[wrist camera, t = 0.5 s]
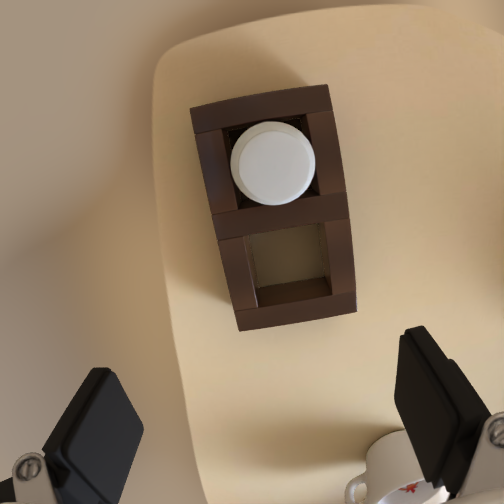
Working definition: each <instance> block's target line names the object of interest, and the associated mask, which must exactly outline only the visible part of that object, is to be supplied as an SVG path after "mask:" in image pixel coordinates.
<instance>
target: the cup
mask: <svg viewBox="0 0 504 504" xmlns="http://www.w3.org/2000/svg"><path fill="white" fill-rule="evenodd" d="M366 468H367V469H366V471H365V472H364V473H363V474H361V475H359V476H357V477H355V478H353V479H352V480H351V481H350V482H349V483H348V484H347V486H346V489H345V501H346V504H423V503H424V502H426V501H428V500H429V499H431V498H432V497H433V496H434V495H436V494H437V493H438V492H439V491H440V490H441V488H442V487H443V486H442V487H439V488H437V489H434V488H433V485H432V483H431V482H430V483H427V482H426V481H425V479H424V476H423V473H422V471H421V468H420V465H419V463H418V460H417V457H416V455H415V452H414V450H413V447H412V444H411V442H410V439H409V437H408V434H407V432H406V430H403V431H396V432H393V433H390V434H387V435H385V436H383V437H382V438H380V439H379V440H377V441H376V442H375V443H374V444H373V445H372V446H371V447H370V448H369V450H368V452H367V455H366ZM362 483H365V484H366V486H367V495H366V498H365V499H364V501H362V502H361V503H355V501H354V490H355V488H356V487H357V486H358V485H359V484H362Z"/></svg>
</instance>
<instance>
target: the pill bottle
mask: <svg viewBox="0 0 504 504" xmlns="http://www.w3.org/2000/svg"><path fill="white" fill-rule="evenodd" d="M314 171H315V156H314V152H313V149H312V147H311V145H310V143H309V141H308V140H307V138H306V137H305V136H304V135H303V134H302V133H301V132H300V131H299V130H298V129H296V128H295V127H293V126H291V125H288V124H286V123H281V122H262V123H260V124H257V125H255V126H253V127H251V128H249V129H248V130H247V131H245V132H244V133H243V134H242V135H241V136H240V138H239V139H238V140H237V142H236V144H235V146H234V148H233V151H232V154H231V172H232V176H233V179H234V181H235V183H236V185H237V186H238V188H239V189H240V190H241V191H242V192H243V193H244V194H245V195H246V196H247V197H249V198H250V199H252V200H254V201H256V202H258V203H261V204H265V205H281V204H285V203H288V202H291V201H293V200H294V199H296V198H298V197H299V196H300V195H301V194H303V193H304V191H305V190H306V189H307V188H308V186H309V185H310V183H311V181H312V178H313V176H314Z"/></svg>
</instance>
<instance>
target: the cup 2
mask: <svg viewBox="0 0 504 504" xmlns="http://www.w3.org/2000/svg"><path fill="white" fill-rule="evenodd" d="M448 495H449V492H447V491H446V488H445V486H443V487H442V488H441V490H440V491H439V492H438V493H437V494H436V495H434V496H433V497H432V498H431V499H429V500H428V501H426V502H424V503H423V504H440V503H443V502H445V501H446V499H447V497H448Z"/></svg>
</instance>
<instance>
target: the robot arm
mask: <svg viewBox="0 0 504 504" xmlns="http://www.w3.org/2000/svg"><path fill="white" fill-rule="evenodd" d="M394 400H395V405H396V407H397V410H398V412H399V415H400V417H401V419H402V422H403V424H404V427H405V429H406V432H407V434H408V437H409V439H410V442H411V444H412V447H413V450H414V452H415V455H416V457H417V460H418V463H419V465H420V468H421V471H422V473H423V476H424V479H425V481H426V482H427V483H430V482H431V483H432V485H433V488H434V489H437V488H439V487H442V486H445V488H446V491H447V492H449V495H448V497H447V499H446V501H445V502H443V503H440V504H504V412H499V413H496V414H494V415H491V413H490V412H489V410H488V409H487V407H486V406H485V404H484V403H483V401H482V400H481V398H480V397H479V395H478V394H477V392H476V391H475V389H474V388H473V386H472V385H471V383H470V382H469V381H468V379H467V378H466V376H465V375H464V373H463V372H462V371H461V369H460V368H459V366H458V365H457V364H456V362H455V361H454V360H452V359H448V358H447V357H446V356H445V354H444V353H443V351H442V350H441V349H440V347H439V346H438V344H437V343H436V342H435V340H434V339H433V338H432V336H431V335H430V334H429V332H428V331H427V330H426V328H425V327H424V326H418V327H414V328H410V329H406V330H405V333H404V335H401V336H400V340H399V353H398V365H397V375H396V384H395V393H394ZM143 431H144V428H143V424H142V422H141V420H140V418H139V416H138V415H137V413H136V411H135V409H134V408H133V406H132V404H131V402H130V400H129V399H128V397H127V395H126V393H125V391H124V389H123V387H122V385H121V383H120V381H119V379H118V378H117V375H116V374H115V373H114V372H112V371H111V369H109V368H93V369H92V370H91V371H90V372H89V374H88V376H87V377H86V379H85V380H84V382H83V383H82V385H81V386H80V388H79V389H78V391H77V392H76V394H75V396H74V397H73V399H72V400H71V402H70V404H69V405H68V407H67V408H66V410H65V412H64V413H63V415H62V416H61V418H60V420H59V421H58V423H57V425H56V426H55V428H54V430H53V431H52V433H51V435H50V436H49V438H48V440H47V441H46V443H45V445H44V446H43V448H42V450H43V452H44V453H45V456H44V457H43V456H41V455H40V454H38V453H33V452H31V453H27V454H25V455H23V456H21V457H20V458H19V459H18V460H17V461H16V462H15V464H14V466H13V469H12V477H11V478H9V479H6V480H4V481H2V482H0V504H118V503H119V500H120V497H121V494H122V491H123V488H124V485H125V483H126V480H127V477H128V474H129V471H130V468H131V465H132V462H133V460H134V457H135V454H136V451H137V448H138V446H139V443H140V440H141V437H142V435H143Z"/></svg>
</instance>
